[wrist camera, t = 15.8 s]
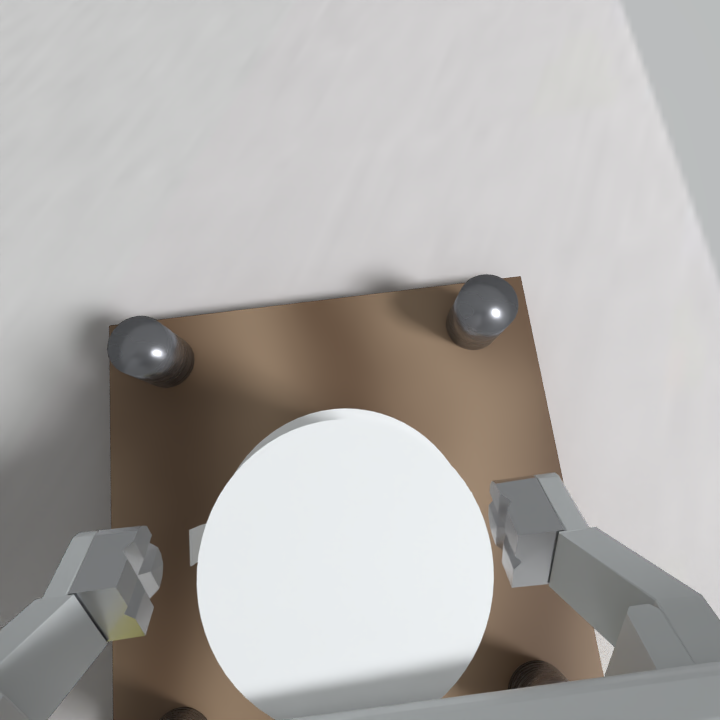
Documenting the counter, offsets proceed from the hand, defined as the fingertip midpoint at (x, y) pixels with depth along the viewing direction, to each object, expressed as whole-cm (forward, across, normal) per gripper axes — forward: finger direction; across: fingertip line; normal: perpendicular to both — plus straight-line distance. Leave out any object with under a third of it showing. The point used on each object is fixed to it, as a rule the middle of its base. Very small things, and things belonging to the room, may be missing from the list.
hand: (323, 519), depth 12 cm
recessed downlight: (+4, 0, +4) cm, 6 cm away
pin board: (+5, 0, +5) cm, 7 cm away
